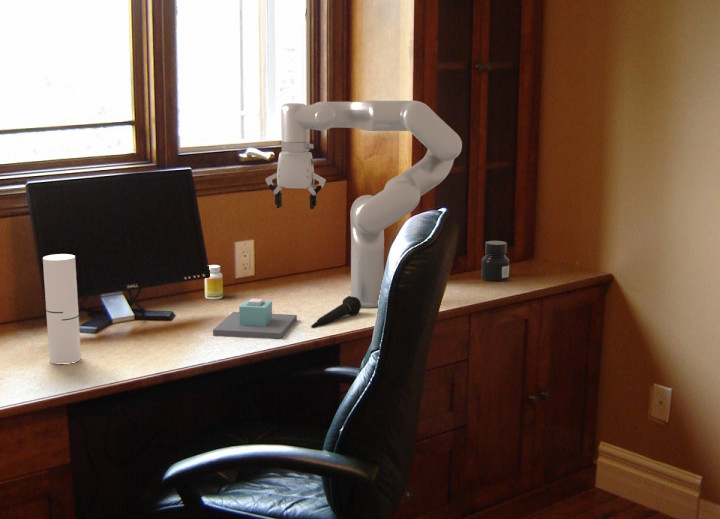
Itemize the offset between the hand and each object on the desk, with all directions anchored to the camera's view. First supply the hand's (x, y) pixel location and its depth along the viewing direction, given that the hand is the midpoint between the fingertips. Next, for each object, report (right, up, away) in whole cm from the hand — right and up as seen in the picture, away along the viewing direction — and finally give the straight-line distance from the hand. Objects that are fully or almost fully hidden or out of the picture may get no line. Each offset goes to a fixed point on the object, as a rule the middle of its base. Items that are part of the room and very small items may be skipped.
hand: (295, 207), depth 275 cm
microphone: (+11, -32, -10) cm, 35 cm away
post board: (-9, -33, -18) cm, 39 cm away
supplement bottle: (-25, -26, +13) cm, 39 cm away
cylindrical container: (-52, -39, -46) cm, 79 cm away
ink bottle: (+62, -21, +38) cm, 76 cm away
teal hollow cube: (-9, -31, -19) cm, 38 cm away
